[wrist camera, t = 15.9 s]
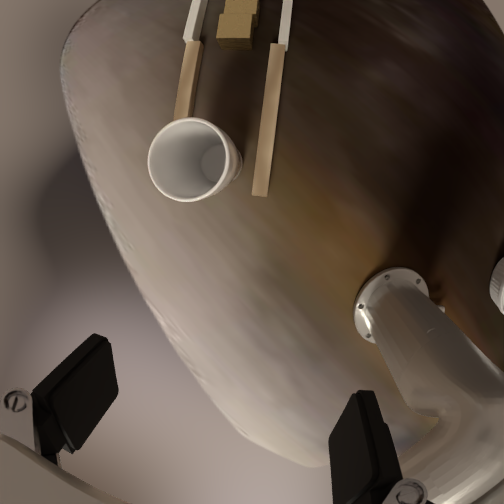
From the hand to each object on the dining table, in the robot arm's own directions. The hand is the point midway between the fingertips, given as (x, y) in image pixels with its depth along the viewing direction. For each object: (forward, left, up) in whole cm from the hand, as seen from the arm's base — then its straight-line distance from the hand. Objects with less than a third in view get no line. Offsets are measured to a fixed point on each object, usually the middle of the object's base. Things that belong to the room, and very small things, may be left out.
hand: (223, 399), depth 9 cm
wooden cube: (+6, -26, -29) cm, 39 cm away
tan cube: (+6, -30, -29) cm, 42 cm away
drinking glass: (+6, -8, -29) cm, 30 cm away
